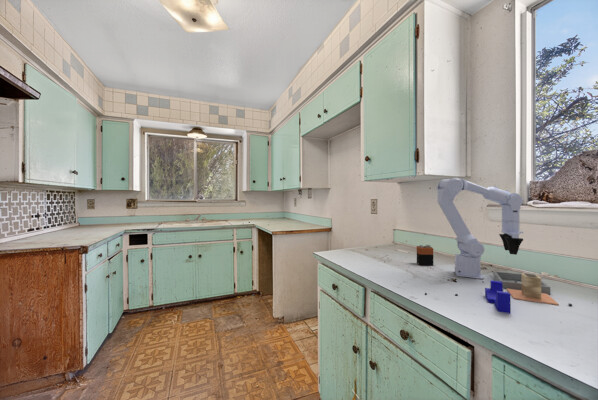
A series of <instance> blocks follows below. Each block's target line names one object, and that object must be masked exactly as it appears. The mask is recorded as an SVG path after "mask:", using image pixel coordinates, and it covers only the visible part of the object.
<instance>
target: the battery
mask: <svg viewBox="0 0 598 400" xmlns="http://www.w3.org/2000/svg"><path fill="white" fill-rule="evenodd" d="M416 264H418V265H419V266H422V267H423V266H428V267H429V266H430V267H431V266H434V248H433V247H432V246H431V245H430V244H425V245H422V244H420V245H417V246H416Z"/></svg>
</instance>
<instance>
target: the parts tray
mask: <svg viewBox="0 0 598 400" xmlns="http://www.w3.org/2000/svg"><path fill="white" fill-rule="evenodd" d="M492 277H493V279H494V281H501V282H502V286H503V289H506V288H507V289H515V290H522V288H521V282H515V281H521V273H515V272H514V273H512V272H506V271H495V270H493V271H492ZM503 279H505V280H503ZM507 280H514V281H507ZM507 289H506V290H507ZM541 293H545V294H548V295H551V286H550V285H549V284H547V282H545V281H544V280H542V279H541Z"/></svg>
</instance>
